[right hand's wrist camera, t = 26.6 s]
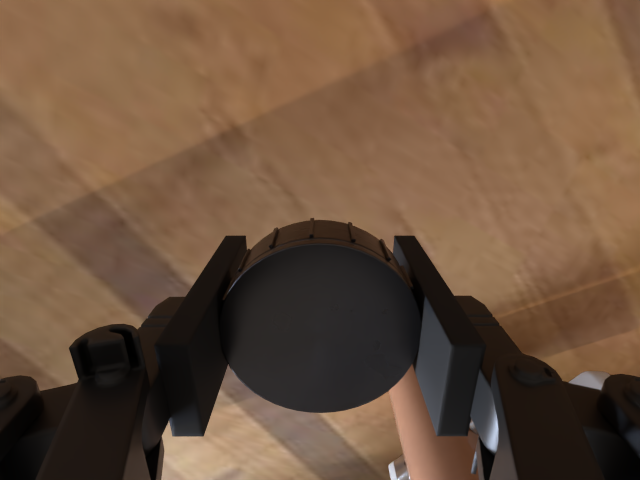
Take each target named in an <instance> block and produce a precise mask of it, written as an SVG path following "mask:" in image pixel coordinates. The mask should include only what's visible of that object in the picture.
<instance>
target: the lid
mask: <svg viewBox="0 0 640 480" xmlns="http://www.w3.org/2000/svg"><path fill="white" fill-rule="evenodd" d="M412 289H414V287H413V285H412V283H411V281H410V279H409V277H408V275H407V273H406V270H405V268H404V266H403V265H401V266H400V264H399V262H398V261H397V259H396V258H395V256H394V255H393V253H392V252H391V251H390V250H389V249H388V248H387V247H386V245H385V242H384V240H382V239H381V240H378V239H377V238H376V237H374V236H373V235H371V234H369V233H368V232H366V231H364V230H362V229H360V228H358V227H355V226H353V225H352V223H351V222H348V224H346V223H342V222H336V221H328V220H314V218H311V219H310V221H304V222H299V223H294V224H291V225H288V226H285V227H282V228H280V229H278V228H275V229H274V231H273V232H272V233H271V234H269V235H268V236H266V237H265V238H263V239H262V240H261V241H259V242H258V243H257V244H256V245H255V246H254V247H253V248H252V249H251V250H250V249H248V250H247V251H246V253H245V255H244V258H243V260H242V262H241V264H240V266H239V268H238V271H237V273H236V275H235V278H234V277H233V278H232V280H231V282H230V284H229V286H228V288H227V290H226V292H225V294H224V297H223V299H222V302H223V304H222V308H221V312H220V316H219V334H220V342H221V348H222V351H223V354H224V356H225V359H226V361H227V362H228V364H229V366H230V368H231V369H232V371H233V372H234V373H235V375H236V376H237V377H238V378H239V379H240V380H241V381H242V382H243V384H244V385H245V386H247V387H248V388H249V389H250V390H252V391H253V392H254V393H256V394H257V395H259V396H260V397H262V398H264V399H266V400H268V401H270V402H272V403H274V404H276V405H279V406H282V407H285V408H288V409H293V410H297V411H303V412H313V413H327V412H337V411H343V410H348V409H352V408H355V407H358V406H361V405H364V404H366V403H369V402H371V401H373V400H375V399H377V398H378V397H380V396H381V395H383V394H384V393H386V392H388V391H389V390H390V389H391V388H392V387H394V386H395V385H396V384H397V383H398V382H399V381H400V380H401V379H402V377H403V376H404V375H405V374H406V372H407V371H408V370H409V368H410V367H411V365H412V363H413V361H414V359H415V357H416V354H417V351H418V349H419V344H420V336H421V326H422V323H421V315H420V310H419V307H418V304H417V301H416V299H415V297H414V294H413V292H412Z"/></svg>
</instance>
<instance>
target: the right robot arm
mask: <svg viewBox="0 0 640 480" xmlns="http://www.w3.org/2000/svg"><path fill="white" fill-rule="evenodd" d="M246 251H247V246H246V236H226V237H225V238H224V240H223V241H222V243H221V244H220V246H219V247H218V249H217V250H216V252H215V253H214V255H213V256H212V258H211V259H210V261H209V262H208V264H207V265H206V267H205V268H204V270H203V271H202V273H201V274H200V276H199V277H198V279H197V280H196V282H195V283H194V285H193V286H192V288H191V289H190V291H189V292H188V294H187V296H186V297H169V298H167V299H166V300H164V301H163V302H161V303H160V304H158V305H157V306H156V307H155V308H154V309H153V311H152V312H151V313H150V314H149V316H148V318H146V320H145V321H144V322H143V324H142V325H141V327H139V329H138V330H137V329H136V328H135V327H133V326H131V325H126V324H112V325H107V326H103V327H99V328H97V329H94V330H92V331H90V332H87V333H85V334H84V335H82V336H81V337H79V338H78V339H76V340H75V341H74V342H73V344H72V345H71V346H70V347H69V350H70V353H71V356H72V359H73V362H74V366H75V369H76V372H77V375H78V378H79V380H78V382H77V383H74V384H71V385H67V386H62V387H57V388H53V389H48V390H44V391H40V390H39V388H38V385H37V382H36V381H35V380H34V379H33V378H31V377H28V376H13V377H7V378H4V379H0V480H161V476H162V467H163V458H164V446H163V440H162V434H163V432H164V430H165V428H166V425H167V423H168V421H170V426H171V431H172V436H204V433H205V431H206V428H207V425H208V422H209V419H210V416H211V413H212V410H213V407H214V404H215V401H216V398H217V395H218V392H219V389H220V386H221V383H222V380H223V378H224V375H225V372H226V369H227V366H228V362H227V361H226V359H225V356H224V354H223V351H222V348H221V342H220V334H219V316H220V312H221V308H222V304H223V302H222V299H223V297H224V294H225V292H226V290H227V288H228V286H229V284H230V282H231V280H232V278H233V277H234V278H235V275H236V273H237V271H238V268H239V266H240V264H241V262H242V260H243V258H244V255H245V253H246ZM393 255H394V256H395V258H396V259H397V261H398V262H399V264H400V266H401V265H403V266H404V268H405V270H406V273H407V275H408V277H409V279H410V281H411V283H412V285H413V287H414V289H412V292H413V294H414V297H415V299H416V301H417V304H418V307H419V310H420V315H421V323H422V326H421V336H420V344H419V349H418V351H417V354H416V357H415V359H414V361H413V363H412V365H413V368H414V371H415V374H416V377H417V380H418V383H419V386H420V389H421V392H422V395H423V398H424V400H425V403H426V406H427V409H428V412H429V415H430V418H431V421H432V424H433V427H434V430H435V433H436V436H468V432H469V427H470V422H471V419H472V421H473V423H474V425H475V427H476V430H477V432H478V434H479V436H478V440H477V445H476V449H475V454H474V458H473V463H472V468H471V473H472V474H476V471H477V467H478V475H479V480H640V377H636V376H631V375H624V374H617V375H610V376H609V377H608V378H606V379H605V380H604V383H603V386H602V389H601V390H599V389H595V388H590V387H585V386H581V385H576V384H572V383H568V382H564V381H562V379H561V378H560V376H559V375H558V374H557V372H556V371H555V370H554V369H553V368H551V367H550V366H549V365H548V364H546V363H545V362H543V361H541V360H539V359H537V358H535V357H532V356H528V355H524V354H522V352H521V351H520V350H519V349H518V347H517V346H516V345H515V343H514V342H513V341H512V340H511V338H510V337H509V336H508V334H507V333H506V332H505V331H504V329H503V328H502V327H501V326H499V323H498V322H497V320H496V319H495V318H494V317H492V314H491V313H490V311H489V310H488V309H487V307H486V306H485V305H484V304H482V303H481V302H479V301H478V300H476V299H475V298H473V297H472V296H454V295H453V294H452V292H451V291H450V289H449V288H448V286H447V285H446V283H445V282H444V280H443V279H442V277H441V275H440V274H439V272H438V271H437V269H436V268H435V266H434V265H433V263H432V262H431V260H430V259H429V257H428V256H427V254H426V253H425V251H424V250H423V248H422V247H421V245H420V244H419V242H418V241H417V239H416V238H415V236H394V248H393Z"/></svg>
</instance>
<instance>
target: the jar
mask: <svg viewBox="0 0 640 480" xmlns="http://www.w3.org/2000/svg"><path fill="white" fill-rule="evenodd" d="M388 392H389V397H390V401H391V405H392V409H393V413H394V418H395V422H396V426H397V430H398V434H399V438H400V443H401V447H402V451H403V455H404V459H405V464H406V468H407V472H408V476H409V480H479V475H478V467H477V471H476V474H472V473H471V468H472V463H473V458H474V454H475V449H476V445H477V440H478V436H479V435H477V434H475V433H474V432H473V431H472V430H471V429H470V428H469V432H468V436H436V433H435V430H434V427H433V424H432V421H431V418H430V415H429V412H428V409H427V406H426V403H425V400H424V398H423V395H422V392H421V389H420V386H419V383H418V380H417V377H416V374H415V371H414V368H413V365H411V367H410V368H409V370H408V371H407V372H406V374H405V375H404V376H403V377H402V379H401V380H400V381H399V382H398V383H397V384H396V385H395V386H394V387H392V388H391V389H390V390H389V391H388Z"/></svg>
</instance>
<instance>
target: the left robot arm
mask: <svg viewBox="0 0 640 480" xmlns="http://www.w3.org/2000/svg"><path fill="white" fill-rule="evenodd" d="M609 376H610V374H609V373H607V372H603V371H585V372H582V373H581V374H579V375H578V376H576V377H575V378H573V379H572V380H571V381H569V382H568V383H572V384H576V385H581V386H585V387H590V388H595V389H599V390H601V389H602V386H603V383H604V380H605V379H606V378H608V377H609ZM469 428H470V429H471V430H472V431H473V432H474V433H475V434H477V435H479V434H478V432H477V430H476V427H475V425H474V423H473V421H472V419H471V422H470V427H469ZM389 472H390V477H391V480H409V476H408V472H407V468H406V464H405V459H404V455H403V454H402V455H401V456H400V457H398V458H397V459H396V460H394V461H393V462H391V463H390V464H389Z"/></svg>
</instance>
